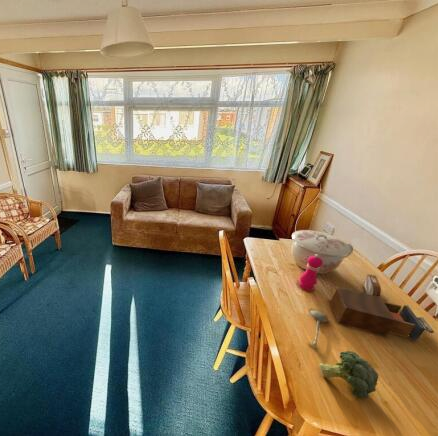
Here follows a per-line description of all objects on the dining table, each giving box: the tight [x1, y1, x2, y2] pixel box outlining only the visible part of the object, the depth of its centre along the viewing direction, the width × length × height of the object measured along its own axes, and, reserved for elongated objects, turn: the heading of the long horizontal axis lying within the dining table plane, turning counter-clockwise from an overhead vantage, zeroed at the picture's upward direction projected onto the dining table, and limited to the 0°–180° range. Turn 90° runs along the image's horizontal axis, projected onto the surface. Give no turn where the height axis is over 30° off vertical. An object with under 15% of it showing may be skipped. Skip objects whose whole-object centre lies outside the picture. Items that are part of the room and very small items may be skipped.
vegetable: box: [318, 350, 379, 399], centre depth 75 cm, size 12×13×15 cm
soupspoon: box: [310, 309, 329, 349], centre depth 95 cm, size 22×3×7 cm
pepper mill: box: [298, 254, 323, 291], centre depth 115 cm, size 7×7×20 cm
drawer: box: [383, 300, 435, 343], centre depth 94 cm, size 19×12×7 cm, turn 66°
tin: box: [363, 274, 382, 297], centre depth 112 cm, size 15×3×8 cm, turn 148°
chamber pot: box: [290, 229, 354, 274], centre depth 130 cm, size 28×28×21 cm
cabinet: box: [330, 286, 395, 337], centre depth 99 cm, size 16×14×9 cm
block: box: [390, 312, 404, 321], centre depth 95 cm, size 4×4×4 cm
